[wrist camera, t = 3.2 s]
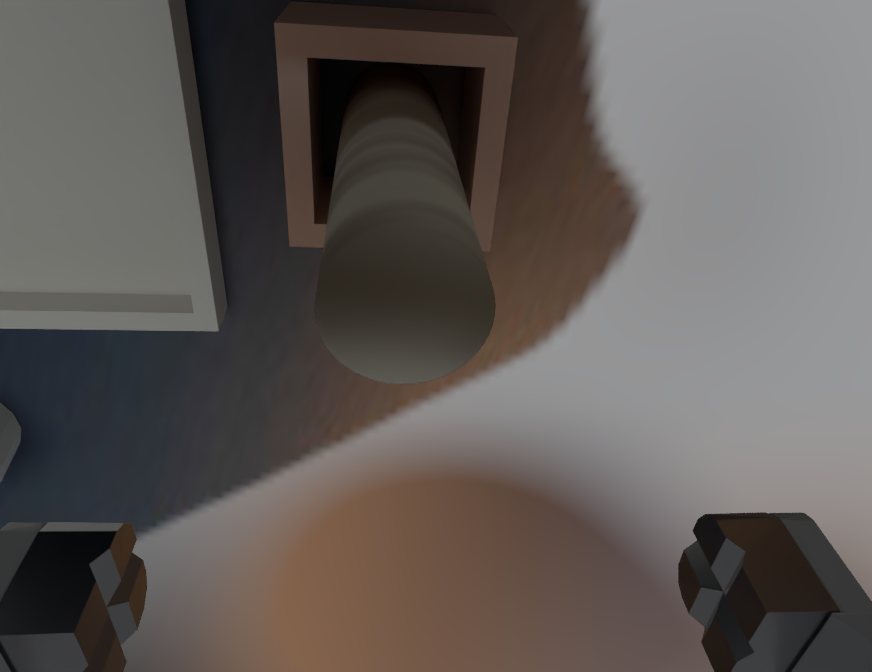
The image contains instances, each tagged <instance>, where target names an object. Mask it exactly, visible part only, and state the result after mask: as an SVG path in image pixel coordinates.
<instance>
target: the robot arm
mask: <svg viewBox="0 0 872 672" xmlns="http://www.w3.org/2000/svg"><path fill="white" fill-rule="evenodd" d="M693 532H694V534H695V536H696V538H697V541H696V542H695V543H693V544H692V545H690V546H689V547H688V548H686V549H685V550H684V551H683V554H682V557H681V559H680V562H679V565H678V566H679V567H678V570H679V572H678V576H679V577H678V583H679V587H680V591H681V595H682V599H683V601H684V603H685V606H686V608H687V611H688V613H689V614H690V615H691V616H692V617H694V618H695V619H696V620H697V621H698V622H699V623H700V624H702V625H703V626H704V627H705V630H704V634H703V638H702V645H703V647H704V649H705V652H706V654H707V656H708V658H709V661H710V663H711V665H712V667H713V669H714V672H872V601H871V600H870V599H869V597H868V596H867V594H866V593H865V592H864V590H863V589H862V587H861V586H860V585H859V583H858V582H857V580H856V579H855V578H854V576H853V575H852V573H851V572H850V571H849V569H848V568H847V566H846V565H845V564H844V562H843V561H842V559H841V558H840V557H839V555H838V554H837V552H836V551H835V550H834V548H833V547H832V545H831V544H830V543H829V541H828V540H827V538H826V537H825V536H824V534H823V533H822V531H821V530H820V528H819V527H818V526H817V524H816V523H815V521H814V520H813V519H811V518H810V517H809V516H807V515H806V514H805V513H769V514H768V513H730V514H705V515H703V516H702V517H700V518H699V519H698V520H697V522H696V524H695V527H694V529H693ZM136 540H137V539H136V536H135V533H134V530H133V528H132V525H131V524H130V523H73V522H9V523H8V524H6V525H5V526H4V527H3V528H2V529H0V672H123V671H124V668H125V665H126V659H125V656H124V653H123V651H122V648H121V644H122V643H124V642H125V641H126V640H127V639H128V638H129V637H130V636H131V635H132V634H133V633H134V632H135V631H136V630H137V629H138V626H139V623H140V620H141V616H142V613H143V610H144V605H145V598H146V591H147V578H146V569H145V566H144V562H143V560H142V559H141V558H139V557H138V556H136V555H135V554H133V553H132V551H133V548H134V545H135V543H136Z"/></svg>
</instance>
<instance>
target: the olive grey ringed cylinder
mask: <svg viewBox="0 0 872 672" xmlns="http://www.w3.org/2000/svg"><path fill="white" fill-rule="evenodd" d="M494 317H495V295H494V291H493V287H492V283H491V280H490V277H489V273H488V270H487V267H486V263H485V260H484V256H483V253H482V250H481V246H480V243H479V239H478V236H477V233H476V229H475V226H474V222H473V219H472V216H471V212H470V209H469V205H468V202H467V199H466V195H465V192H464V188H463V185H462V182H461V178H460V175H459V171H458V168H457V165H456V161H455V158H454V155H453V151H452V148H451V144H450V141H449V138H448V134H447V131H446V127H445V124H444V121H443V117H442V114H441V110H440V107H439V104H438V100H437V97H436V94H435V91H434V89H433V87H432V86H431V84H430V82H429V81H428V80H427V79H426V77H425V76H424V75H423V74H421V73H420V72H419V71H418V70H416V69H414V68H413V67H411V66H408V65H406V64H402V63H396V62H385V63H379V64H376V65H373V66H371V67H369V68H368V69H366V70H364V71H363V72H362V73H361V74H360V75H358V77H357V78H356V79H355V80H354V82H353V83H352V85H351V86H350V89H349V91H348V94H347V97H346V102H345V108H344V115H343V121H342V128H341V134H340V141H339V147H338V154H337V161H336V167H335V174H334V180H333V187H332V194H331V200H330V207H329V213H328V220H327V227H326V233H325V240H324V246H323V253H322V260H321V266H320V273H319V279H318V286H317V292H316V299H315V319H316V324H317V328H318V331H319V334H320V336H321V338H322V340H323V342H324V344H325V345H326V347H327V348H328V350H329V351H330V352H331V353H332V354H333V356H334V357H335V358H336V359H337V360H339V361H340V362H341V363H342V364H343V365H345V366H346V367H347V368H349V369H350V370H352V371H354V372H356V373H358V374H360V375H362V376H364V377H367V378H369V379H372V380H376V381H380V382H385V383H391V384H415V383H421V382H426V381H430V380H434V379H437V378H440V377H443V376H445V375H447V374H449V373H451V372H453V371H455V370H457V369H458V368H460V367H461V366H463V365H464V364H465V363H467V362H468V361H469V360H470V359H471V358H472V357H473V356H474V355H475V354H476V353H477V352H478V351H479V350H480V348H481V347H482V346H483V344H484V343H485V341H486V339H487V337H488V336H489V333H490V331H491V328H492V326H493V321H494Z"/></svg>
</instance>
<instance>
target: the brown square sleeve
mask: <svg viewBox="0 0 872 672" xmlns="http://www.w3.org/2000/svg"><path fill="white" fill-rule="evenodd" d="M274 30H275V44H276V59H277V73H278V87H279V102H280V116H281V130H282V145H283V159H284V174H285V188H286V202H287V217H288V231H289V245H290V247H321V248H323V246H324V240H325V233H326V227H327V220H328V213H329V207H330V200H331V194H332V187H333V180H334V177H323V152H322V122H321V93H320V63H319V58H325V59H342V60H360V61H378V62H396V63H414V64H431V65H449V66H466V69H465V81H464V92H463V103H462V114H461V126H460V137H459V148H458V159H457V168H458V171H459V175H460V178H461V182H462V185H463V188H464V192H465V195H466V199H467V202H468V205H469V209H470V212H471V216H472V219H473V222H474V226H475V229H476V233H477V236H478V239H479V243H480V246H481V250H482V252H490V251H491V243H492V235H493V227H494V220H495V212H496V204H497V197H498V189H499V181H500V173H501V166H502V158H503V150H504V143H505V135H506V127H507V119H508V112H509V104H510V96H511V89H512V81H513V73H514V66H515V58H516V50H517V42H518V37H517V36H516V35H515V34H514V33H513V32H512V31H511V30H510V29H509V28H508V27H507V26H506V25H505V24H504V23H503V22H502V21H501V20H500V19H499V18H498V17H497V16H496V14H483V13H467V12H452V11H436V10H421V9H406V8H390V7H375V6H359V5H344V4H328V3H313V2H298V1H291V2H290V3H289V4H288V6H287V7H286V8H285V9H284V11H283V12H282V13H281V14H280V16H279V17H278V18H277V19H276V21H275V22H274Z"/></svg>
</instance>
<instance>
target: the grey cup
mask: <svg viewBox="0 0 872 672" xmlns="http://www.w3.org/2000/svg"><path fill="white" fill-rule="evenodd" d="M20 442H21V427H20V425H19V423H18V422H17V420H16V418H15V416H14V414H13V413H12V412H11V411H10V410H8V409H7V408H6V407H5V406H4V405H3V404H2V403H0V483H1V481H2V479H3V477H4V475H5V473H6V471H7V469H8V467H9V465H10V462H11V460H12V458H13V456H14V454H15V452H16V450H17V448H18V446H19V444H20Z"/></svg>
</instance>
